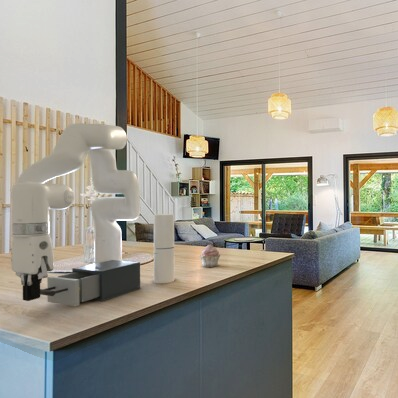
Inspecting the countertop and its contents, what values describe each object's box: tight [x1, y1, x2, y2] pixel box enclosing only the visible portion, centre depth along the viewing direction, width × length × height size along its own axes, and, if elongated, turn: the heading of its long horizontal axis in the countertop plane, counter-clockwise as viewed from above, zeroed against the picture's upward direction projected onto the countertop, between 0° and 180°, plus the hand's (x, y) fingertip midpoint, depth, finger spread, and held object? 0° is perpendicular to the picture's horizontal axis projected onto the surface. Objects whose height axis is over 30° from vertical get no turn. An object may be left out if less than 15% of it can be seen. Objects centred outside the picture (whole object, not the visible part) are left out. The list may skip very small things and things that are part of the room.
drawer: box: [40, 272, 100, 307], centre depth 96 cm, size 18×11×7 cm, turn 161°
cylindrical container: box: [153, 213, 175, 284], centre depth 121 cm, size 7×7×25 cm
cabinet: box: [71, 260, 141, 302], centre depth 107 cm, size 15×13×9 cm
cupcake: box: [199, 243, 221, 268], centre depth 147 cm, size 9×9×10 cm
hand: (31, 299), depth 85 cm, fingers closed
